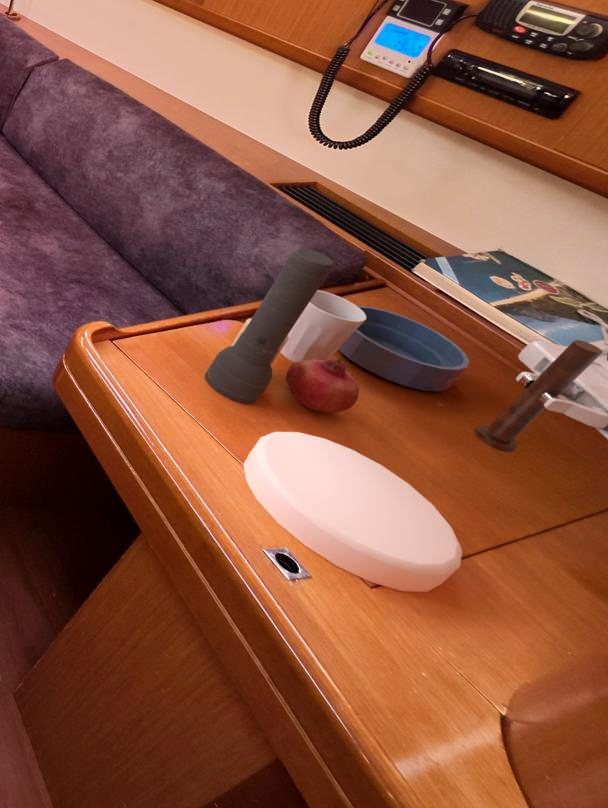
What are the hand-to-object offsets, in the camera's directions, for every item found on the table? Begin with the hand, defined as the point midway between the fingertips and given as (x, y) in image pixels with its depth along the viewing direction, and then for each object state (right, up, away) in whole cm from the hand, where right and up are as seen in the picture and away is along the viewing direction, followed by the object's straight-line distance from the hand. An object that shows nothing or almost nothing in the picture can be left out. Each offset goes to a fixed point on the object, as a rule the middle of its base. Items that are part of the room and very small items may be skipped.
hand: (533, 389), depth 82 cm
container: (-22, -19, +4) cm, 29 cm away
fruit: (-8, -11, +21) cm, 25 cm away
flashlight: (-18, -10, +24) cm, 31 cm away
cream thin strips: (-12, -8, +28) cm, 31 cm away
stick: (+1, -9, +4) cm, 10 cm away
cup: (+1, -7, +31) cm, 31 cm away
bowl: (+16, -7, +30) cm, 35 cm away
